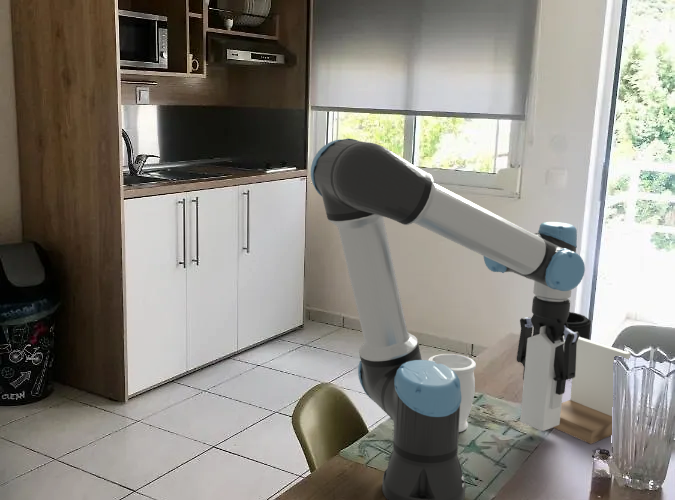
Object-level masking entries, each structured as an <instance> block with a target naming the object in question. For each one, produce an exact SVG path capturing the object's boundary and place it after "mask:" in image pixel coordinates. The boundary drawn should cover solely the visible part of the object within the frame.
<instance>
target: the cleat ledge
mask: <svg viewBox="0 0 675 500" xmlns="http://www.w3.org/2000/svg"><path fill="white" fill-rule="evenodd" d="M553 428H554V429H555V430H558V431H560V432H563V433H564V434H567V435H570V436H571V437H574V438H575V439H579V440H581V441H582V442H585V443H588V444H590V445H592V444H595V443H596V442H599V441H602V440H603V439H606V438H608V437H609V438H610V437H611V436H613V435H612V416H610V415H607V414H605V413H602V412H600V411H597V410H595V409H592V408H590V407H587V406H584V405H582V404H579V403H577V402H574V401H572V400H566V401H562V405H561V414H560V424H559V425H557V426H555V427H552V429H553Z"/></svg>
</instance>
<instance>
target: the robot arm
mask: <svg viewBox="0 0 675 500" xmlns="http://www.w3.org/2000/svg"><path fill="white" fill-rule="evenodd" d="M310 178H311V180H310V181H311V182H312V185H313V187H314V189H315V191H316V192H317V193H318V194H319V196H321V198H322V201H323V205H324V209H325V210H324V211H325V214H326V218H327V221H328V222H330V223H332V224H333V225H334V226H336V227H337V229H338V235H339V238H340V241H341V246H342V250H343V255H344V259H345V264H346V268H347V273H348V276H349V279H350V280H349V281H350V286H351V289H352V293H353V299H354V303H355V306H356V312H357V315H358V319H359V320H358V321H359V324H360V329H361V333H362V336H363V341H364V342H363V343H362V344H361V345H360V347H359V348H358V349H359V350H358V354H359V358H360V361H359V362H358V363H359V364H358V369H357V374H358V380H359V383H360V386H361V387H362V389H363V391H364V393H365V394H366V396H367V397H368V398H369V399H371V401H373V402H374V403H375V404H376V405H377V406H378V407H379V408H380V409H381V410H382V411H383V412H384V413H385V414H386V415H388V417H389V418H390V419H391V420H393V442H392V443H393V444H392V446H393V448H392V452H391V454H390V456H389V460H388V463H387V468H386V469H385V471H384V472H383V476H382V490H381V491H382V494H383V496H384V497H385V498H386V499H387V500H465V498H466V487H467V486H466V481H465V477H464V476H463V470H462V466H461V463H460V459H459V456H458V450H459V449H458V448H459V447H458V446H459V433H460V432H459V417H460V403H461V388H460V380H459V378H458V376H457V374H456V373H455V372H454V371H453V370H452V369H451V368H449V367H447V366H445V365H443V364H441V363H440V364H436V362H434V361H429V359H428V360H427V359H422V354H421V351H420V346H419V340H418V338H417V336H415V335H414V334H411V333H410V332H409V331H408V328H407V323H406V318H405V312H404V307H403V304H402V300H401V299H402V298H401V295H400V289H399V285H398V281H397V280H398V279H397V275H396V271H395V265H394V262H393V257H392V252H391V248H390V247H391V246H390V242H389V238H388V234H387V229H386V225H385V220H384V218H387V219H390V220H393V221H395V222H398V223H399V224H400V225H401V224H402V225H404V226H409V225H412V224H415V225H417V226H420V227H422V228H423V229H426V230H428V231H430V232H433V233H435V234H437V235H439V236H441V237H443V238H445V239H447V240H450V241H451V242H453V243H455V244H457V245H460V246H462V247H465V249H468V250H471V251H473V252H475V253H477V254H479V255H481V256H483V260H484V265H485V266H486V268H487V269H488V270H489V271H491V272H493V273H502V274H504V273H509V272H510V273H514V274H517V275H518V276H520V277H523V278H526V279H529V280H532V281H534V283H533V291H532V292H533V294H534V296H533V297H532V307H531V313H532V316H527V317H526V316H525V317H521V318H520V319H519V324H520V332H519V340H518V346H517V347H518V348H517V352H516V362H517V363H520V364H521V365H522V366H523V374H522V380H523V381H524V371H525V360H526V349H527V339H528V338H529V337H532V336H535V335H538V334H540V328H541V327H542V326H546V334H547V337H548V338H549V339H550V341H551V342H552V343H553V344H554V343H555V341H558V340H561V342H564V340H565V344H562V345H560V346H558V347H556V348H555V358H554V370H555V378H552V384H551V394H550V404H549V408H550V409H554V408H557V407H560V404H561V394H563V395H564V394H565V392H566V381H567V380H572V378H574V377H575V371H576V347H577V341H578V338H579V336H580V335H579V333H578V332H573V331H571V330H570V329H568V325H567V319H568V316H569V312H571V300H570V298H571V296H572V290H574V289H575V288H576V287H578V286H579V285H580V284H581V281H582V280H583V277H585V271H586V267H585V262H584V260H583V258H582V256H581V255H580V254H579V253H577V248H578V247H577V243H578V241H577V240H578V234H577V233H578V231H577V230H578V229H577V228H576V226H575V225H574V224H571V223H568V222H567V223H566V222H559V221H546V222H542V223H540V225H539V229H538V231H537V232H535V233H533V232H531V231H530V230H527V229H525V228H523V227H521V226H520V225H517V224H516V223H513V222H512V221H510V220H508V219H506V218H504V217H502V216H500V215H497V214H495V213H494V212H492V211H490V210H489V209H486V208H484V207H482V206H481V205H478V204H477V203H474V202H472V201H471V200H468V199H466V198H465V197H462V196H461V195H460V194H456V193H454V192H453V191H450V190H449V189H446V188H445V187H443V186H441V185H439V184H438V183H435V182H434V178H433V176H432V174H430V173H429V172H428V171H425V170H423V169H422V168H419V167H417V166H416V165H414V164H412V163H411V162H409V161H408V160H406V159H405V158H403V157H401V156H400V155H398V154H396V153H395V152H394V151H392V150H390V149H388V148H387V147H384V146H382V145H380V144H378V143H376V142H375V143H373V142H368V141H367V142H366V141H360V140H358V139H355V138H354V139H353V138H343V139H336V140H333V141H330V142H328V143H325V145H323V146H322V147H321V148H320V149H319V150H318V152H317V153H316V154H315V156H314V157H313V159H312V163H311V167H310ZM533 328H534V333H533ZM564 334H565V337H564V339H563V335H564ZM559 343H560V342H559ZM563 345H564V349H563Z"/></svg>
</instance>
